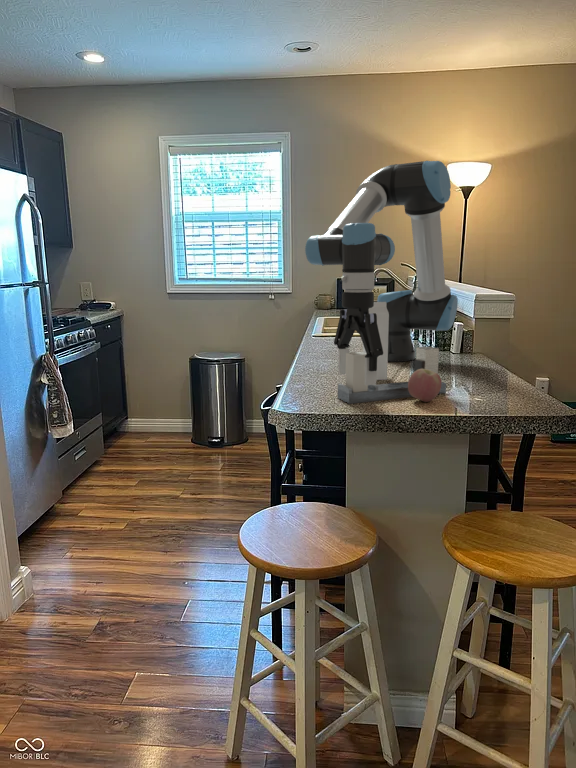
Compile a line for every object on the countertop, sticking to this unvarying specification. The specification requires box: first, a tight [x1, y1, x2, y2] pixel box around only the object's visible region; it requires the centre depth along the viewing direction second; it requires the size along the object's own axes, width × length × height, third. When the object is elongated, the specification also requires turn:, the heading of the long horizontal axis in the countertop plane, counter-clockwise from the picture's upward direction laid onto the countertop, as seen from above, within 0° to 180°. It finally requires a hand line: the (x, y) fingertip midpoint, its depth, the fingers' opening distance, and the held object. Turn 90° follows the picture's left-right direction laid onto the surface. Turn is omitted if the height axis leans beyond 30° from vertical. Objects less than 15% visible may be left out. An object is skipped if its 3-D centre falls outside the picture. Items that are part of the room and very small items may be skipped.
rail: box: [337, 346, 447, 405], centre depth 142 cm, size 28×6×12 cm, turn 112°
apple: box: [407, 369, 442, 403], centre depth 136 cm, size 8×8×8 cm
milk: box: [362, 301, 389, 381], centre depth 163 cm, size 6×6×22 cm
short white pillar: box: [344, 351, 368, 392], centre depth 138 cm, size 5×4×9 cm
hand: (356, 379), depth 138 cm, fingers open, 13 cm apart
